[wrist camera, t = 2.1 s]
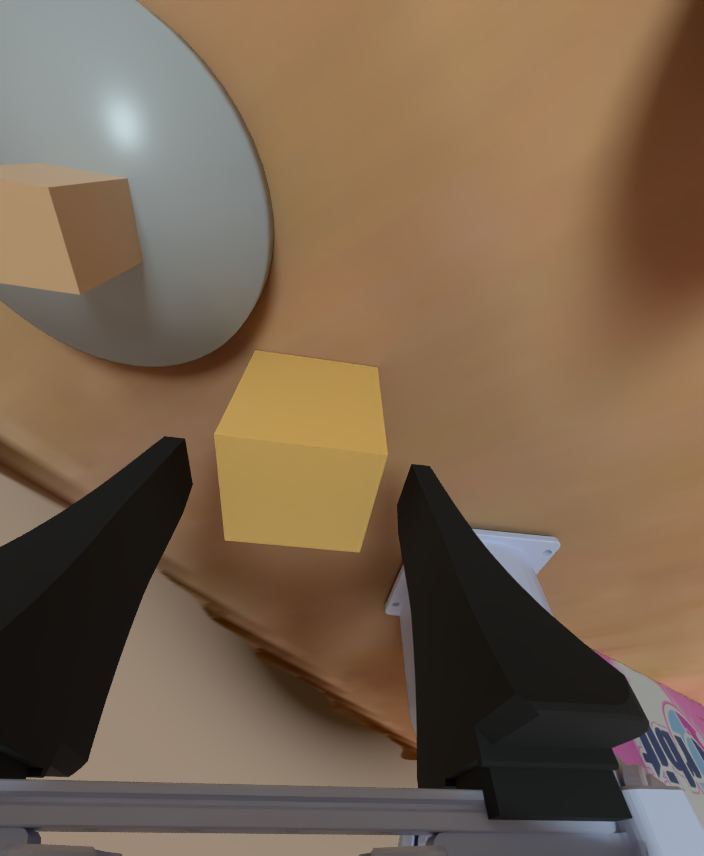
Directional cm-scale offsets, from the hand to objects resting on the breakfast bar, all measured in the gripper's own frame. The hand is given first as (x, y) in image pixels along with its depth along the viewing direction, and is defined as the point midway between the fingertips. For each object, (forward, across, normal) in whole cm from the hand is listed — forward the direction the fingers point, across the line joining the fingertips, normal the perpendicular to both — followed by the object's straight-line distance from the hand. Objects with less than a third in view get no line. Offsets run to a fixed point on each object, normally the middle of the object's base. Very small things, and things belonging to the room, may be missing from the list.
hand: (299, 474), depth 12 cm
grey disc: (+4, +6, -6) cm, 9 cm away
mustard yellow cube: (+4, 0, 0) cm, 4 cm away
